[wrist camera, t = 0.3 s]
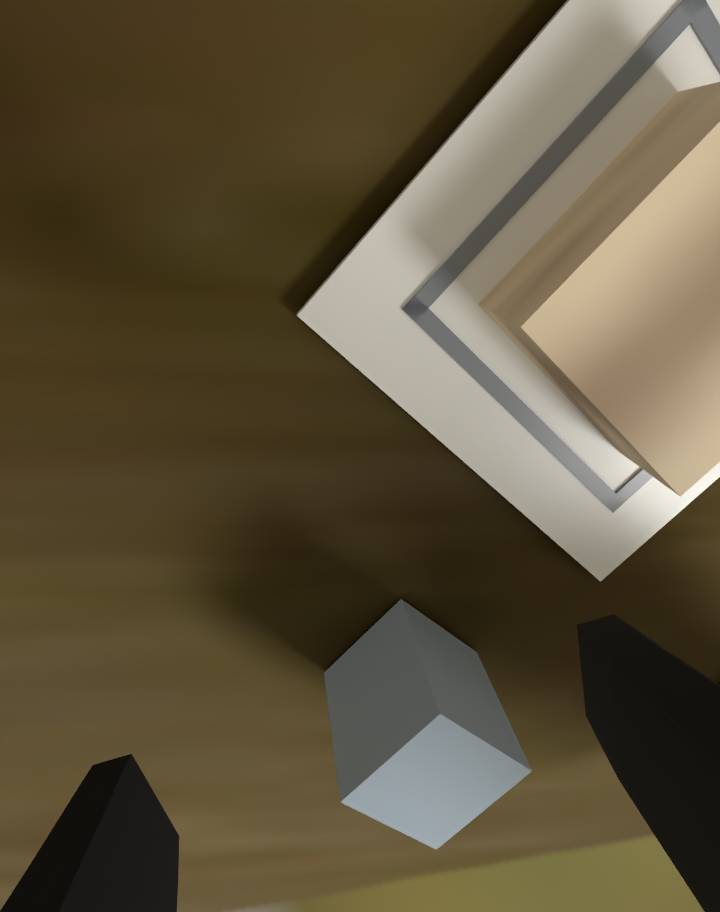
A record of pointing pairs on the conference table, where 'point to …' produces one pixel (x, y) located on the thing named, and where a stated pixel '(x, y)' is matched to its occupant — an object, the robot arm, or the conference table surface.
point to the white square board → (498, 250)
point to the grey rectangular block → (419, 729)
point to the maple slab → (635, 295)
